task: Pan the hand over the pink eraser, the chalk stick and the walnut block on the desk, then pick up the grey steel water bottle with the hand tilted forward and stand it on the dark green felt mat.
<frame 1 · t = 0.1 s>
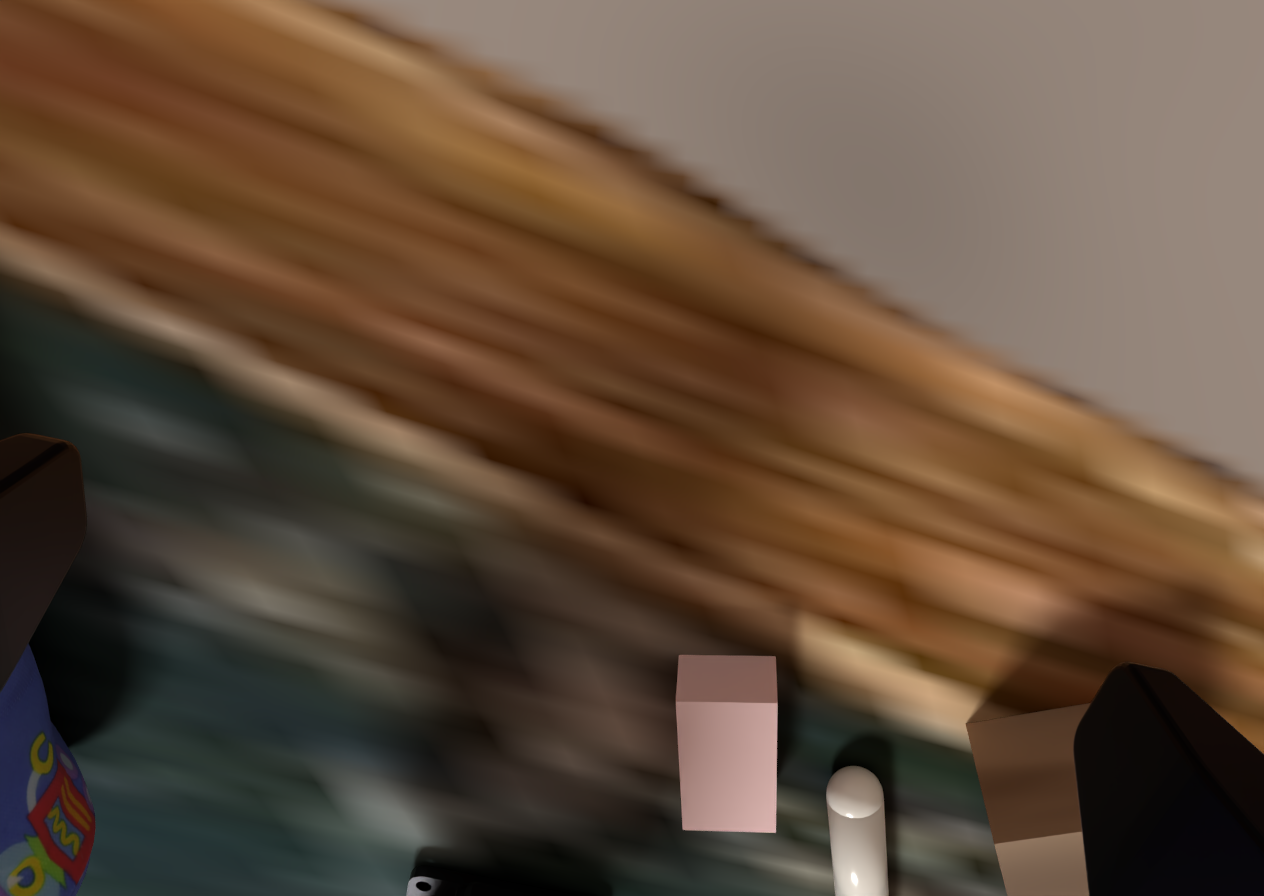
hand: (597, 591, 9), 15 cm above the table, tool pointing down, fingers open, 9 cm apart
chalk: (857, 840, 33), on the table
walnut block: (1050, 758, 30), on the table
eraser: (728, 714, 31), on the table
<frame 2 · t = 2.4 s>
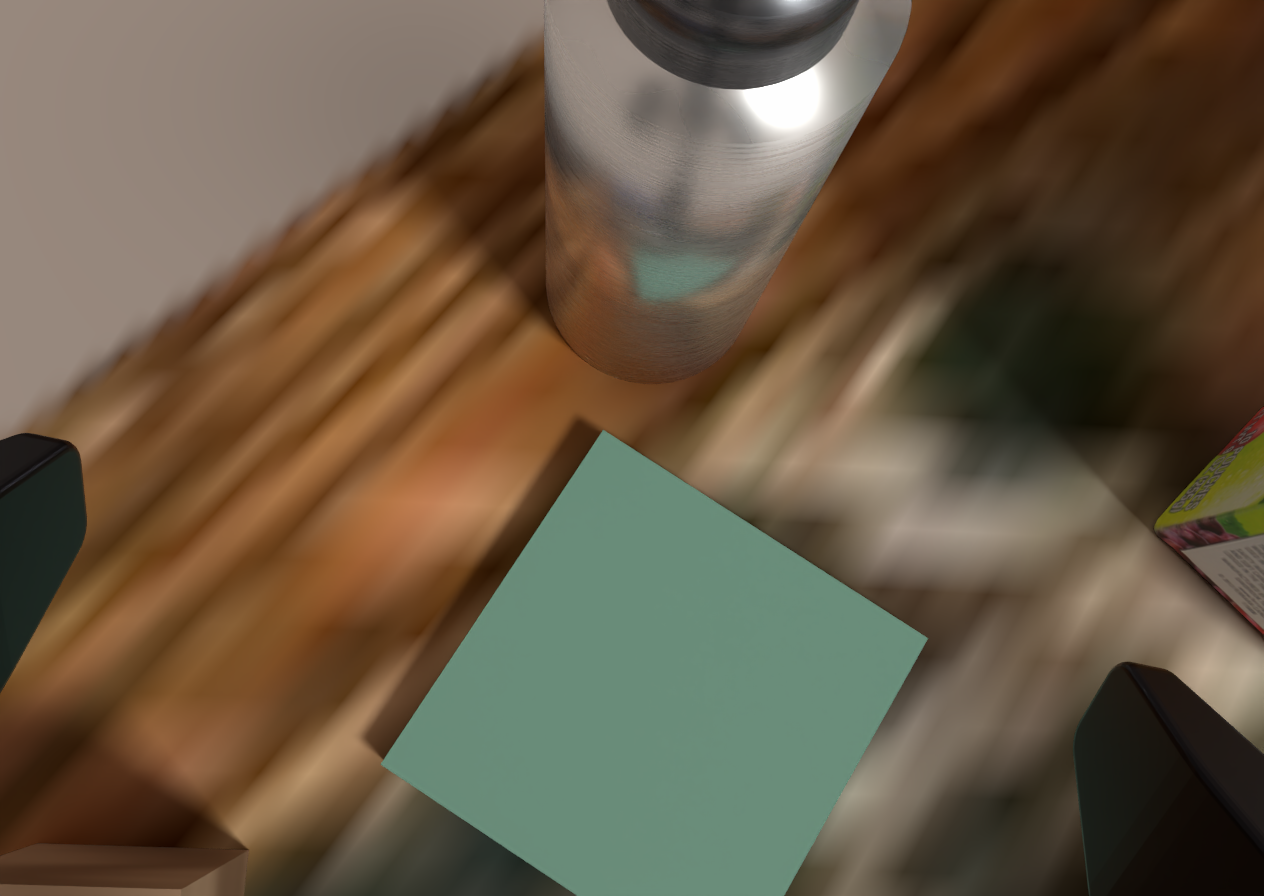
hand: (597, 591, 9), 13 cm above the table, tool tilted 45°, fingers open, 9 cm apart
mat: (659, 698, 22), on the table
bottle: (649, 284, 24), on the table
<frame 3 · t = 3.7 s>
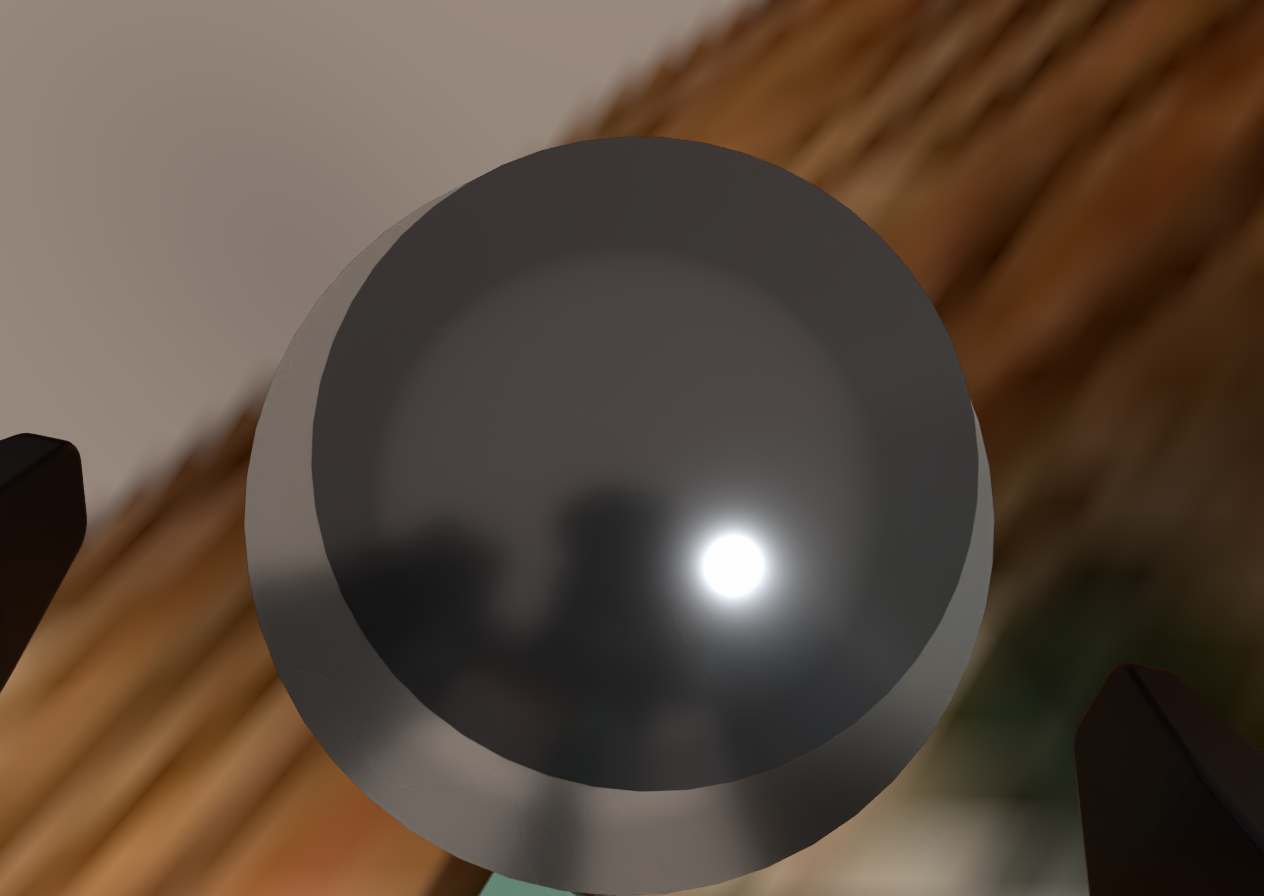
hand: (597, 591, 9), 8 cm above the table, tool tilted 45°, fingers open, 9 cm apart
bottle: (578, 614, 17), on the table
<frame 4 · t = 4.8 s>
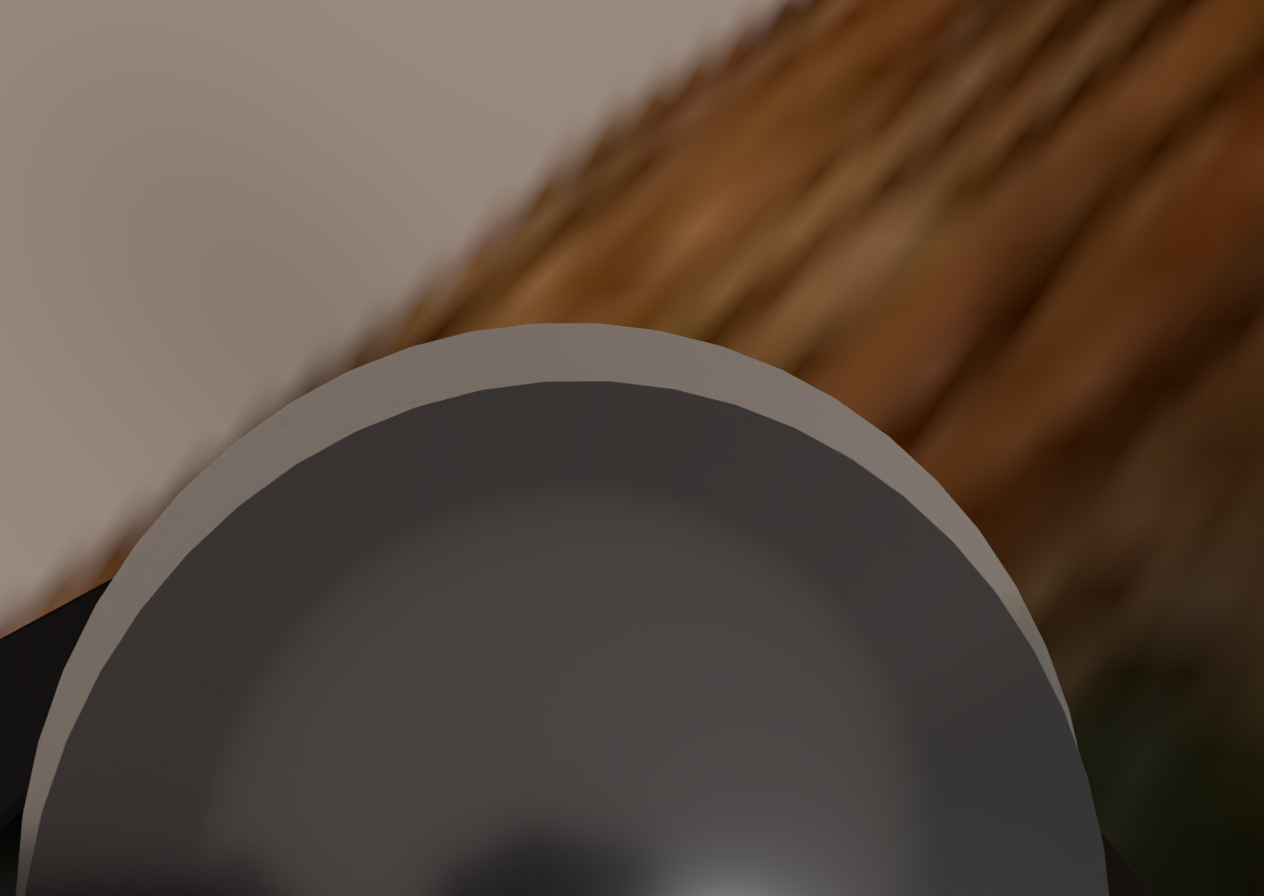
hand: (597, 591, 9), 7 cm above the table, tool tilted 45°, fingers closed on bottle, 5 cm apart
bottle: (557, 722, 15), on the table, touching gripper
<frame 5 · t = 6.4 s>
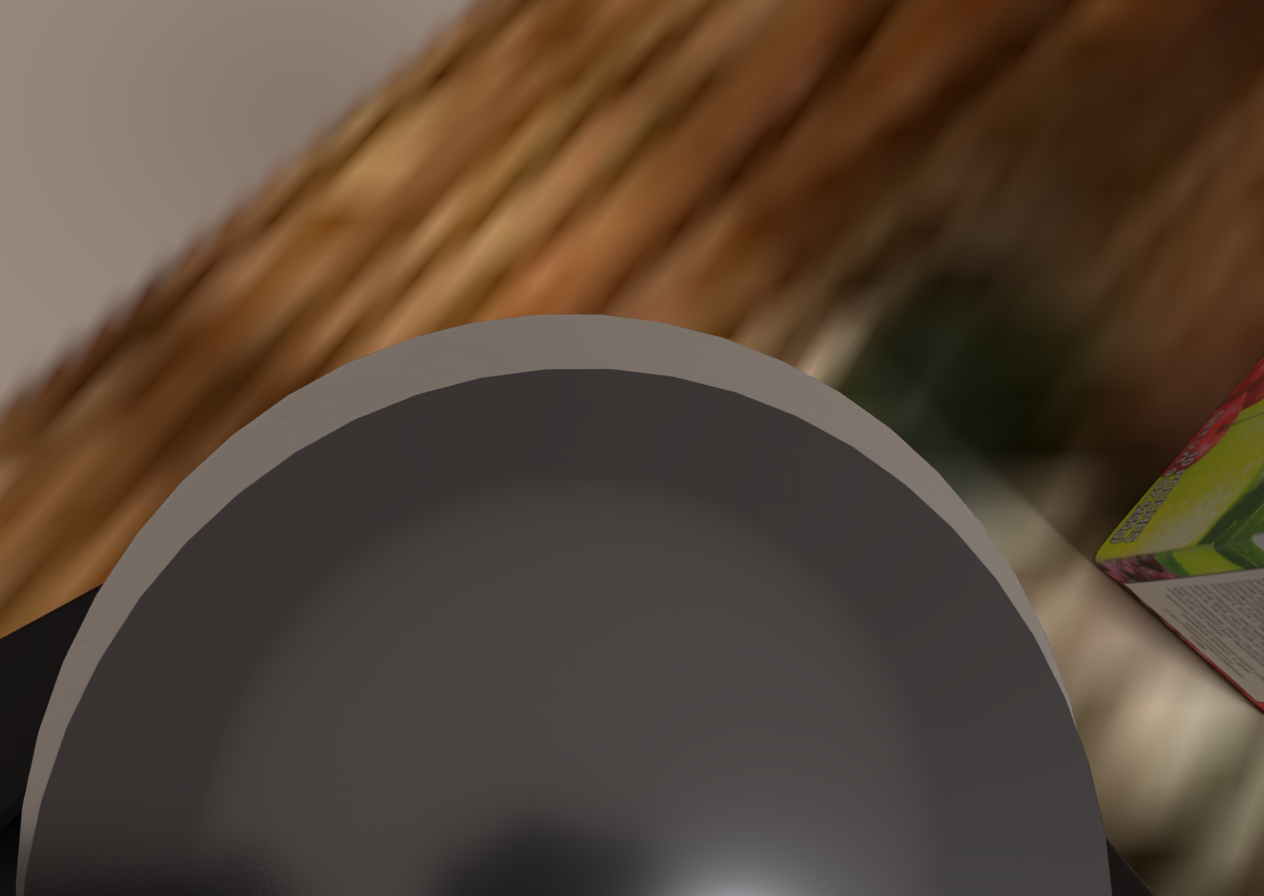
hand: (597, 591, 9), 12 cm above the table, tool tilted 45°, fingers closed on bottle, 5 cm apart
bottle: (557, 720, 15), point 6 cm above the table, touching gripper
when the fingers open (8 cm above the table, at t = 7.9 s): bottle stays where it is, resting on mat.
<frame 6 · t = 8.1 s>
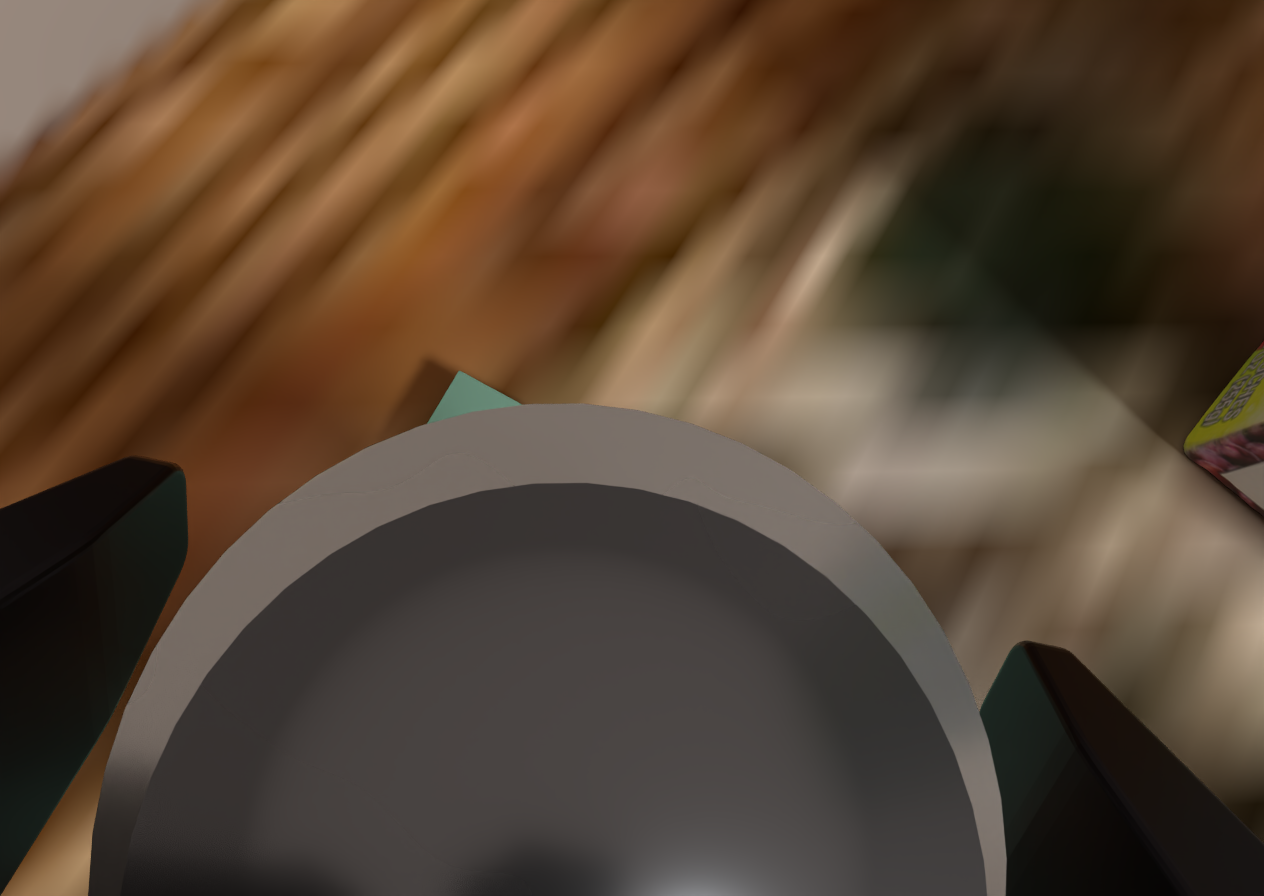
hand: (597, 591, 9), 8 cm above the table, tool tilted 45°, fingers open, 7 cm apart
mat: (556, 718, 17), on the table
bottle: (555, 729, 16), point 1 cm above the table, touching mat
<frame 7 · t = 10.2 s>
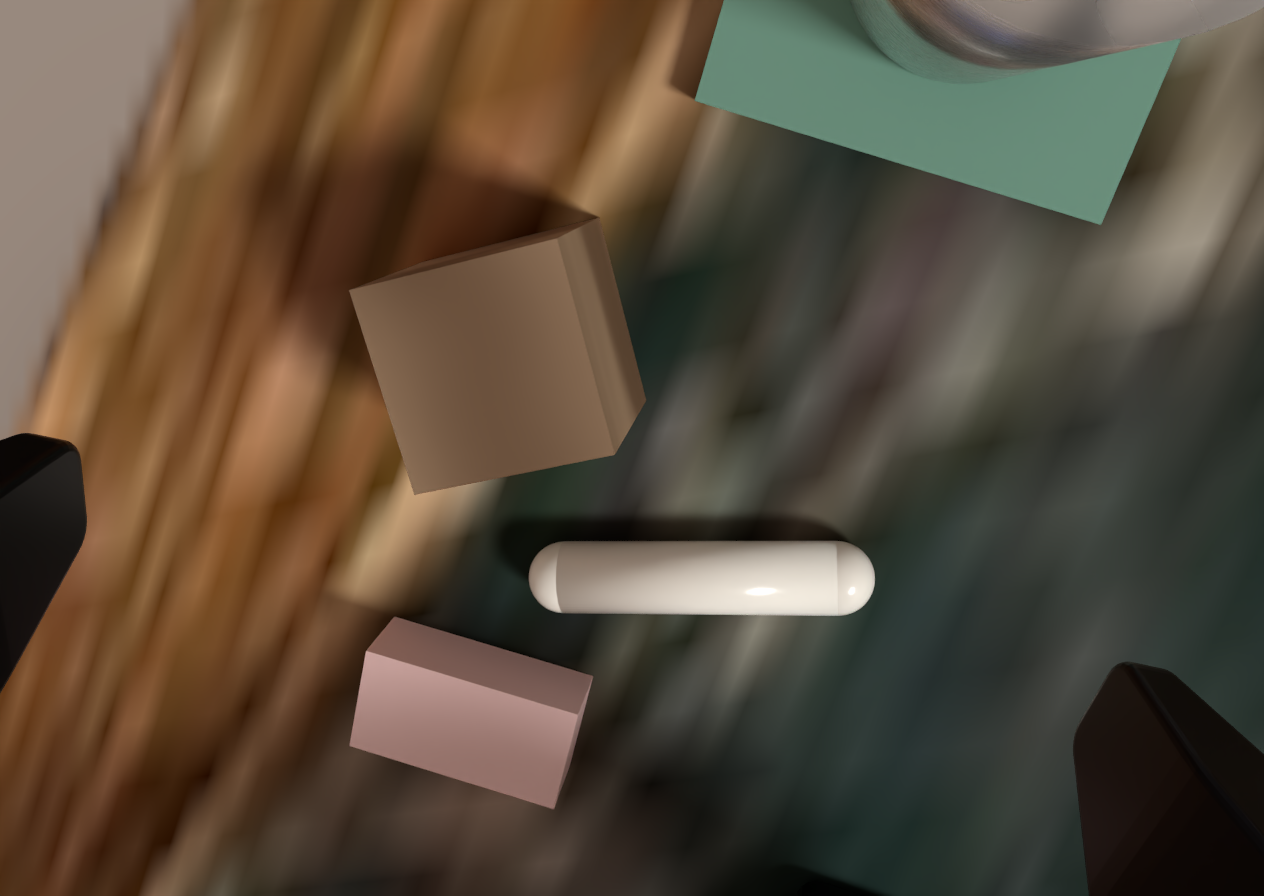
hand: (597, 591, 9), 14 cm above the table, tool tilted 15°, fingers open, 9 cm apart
chalk: (701, 563, 24), on the table
walnut block: (535, 330, 23), on the table
eraser: (486, 686, 26), on the table
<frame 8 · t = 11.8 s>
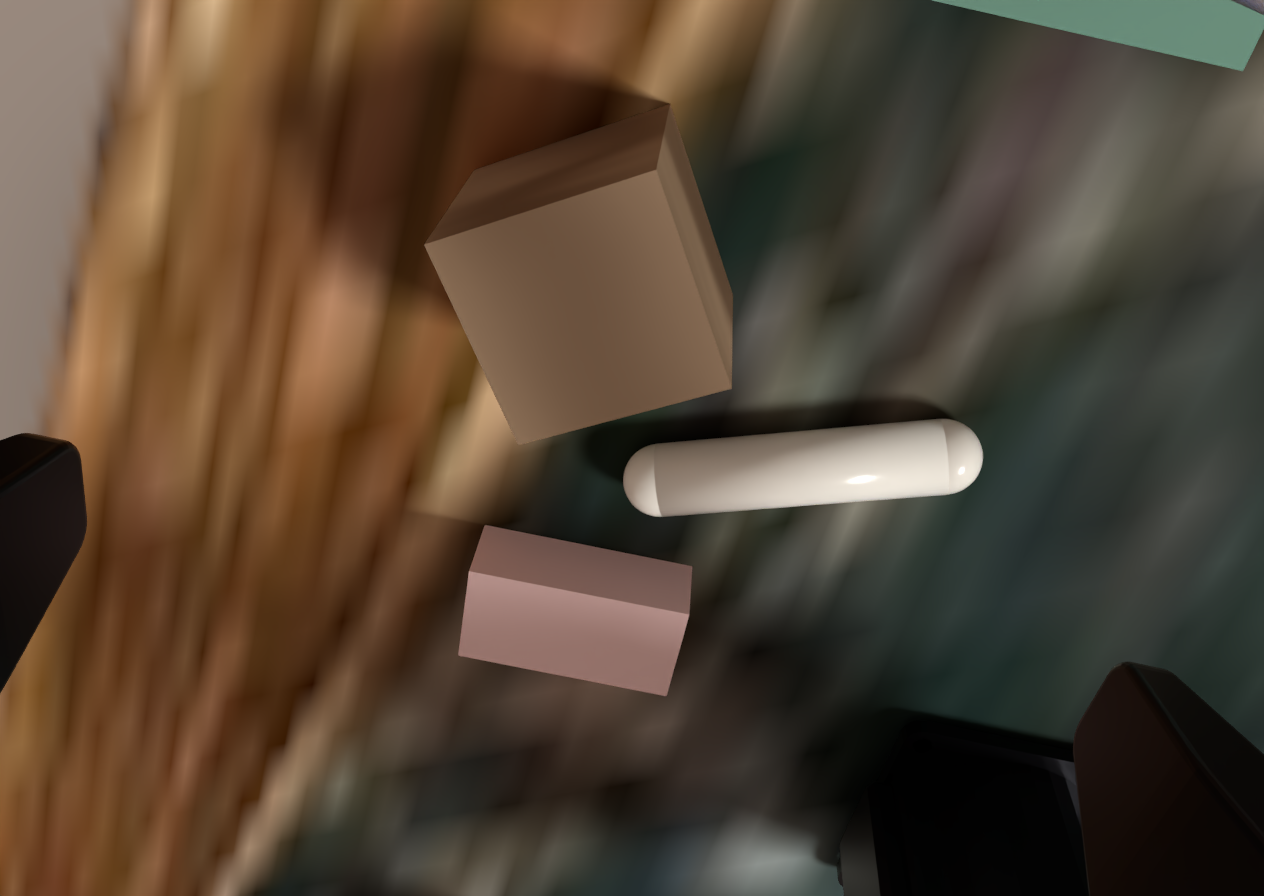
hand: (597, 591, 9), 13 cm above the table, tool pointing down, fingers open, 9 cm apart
chalk: (796, 448, 24), on the table
walnut block: (606, 232, 21), on the table
eraser: (581, 580, 26), on the table
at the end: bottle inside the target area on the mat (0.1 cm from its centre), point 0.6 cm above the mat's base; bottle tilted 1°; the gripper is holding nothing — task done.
